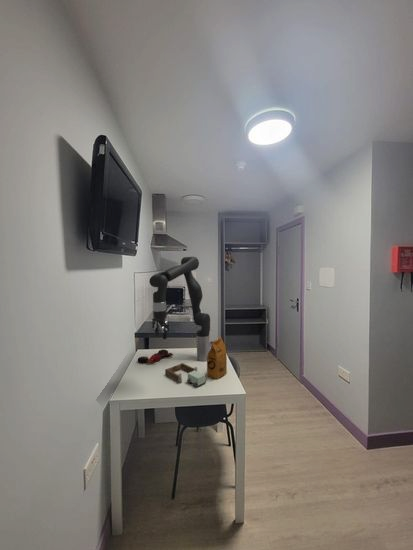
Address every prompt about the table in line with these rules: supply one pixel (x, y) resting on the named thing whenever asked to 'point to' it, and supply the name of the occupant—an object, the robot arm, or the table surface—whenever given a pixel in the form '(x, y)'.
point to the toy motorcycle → (155, 357)
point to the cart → (196, 378)
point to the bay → (171, 371)
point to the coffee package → (217, 359)
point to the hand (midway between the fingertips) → (160, 337)
